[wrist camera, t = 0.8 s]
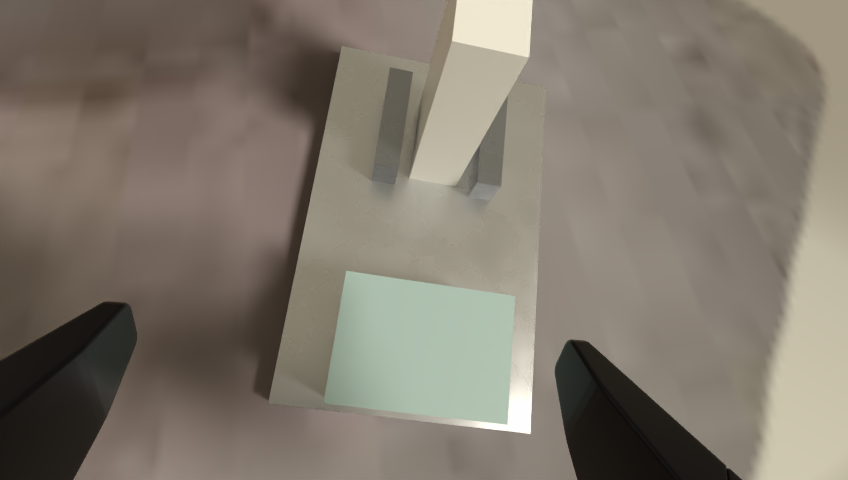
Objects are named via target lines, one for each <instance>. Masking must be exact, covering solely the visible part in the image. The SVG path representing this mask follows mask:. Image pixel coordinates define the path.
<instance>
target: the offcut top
mask: <svg viewBox="0 0 848 480" xmlns="http://www.w3.org/2000/svg"><path fill="white" fill-rule="evenodd" d="M514 307H515V296H511V295H505V294H498V293H491V292H485V291H478V290H471V289H465V288H458V287H451V286H445V285H438V284H431V283H425V282H418V281H411V280H405V279H398V278H391V277H385V276H378V275H371V274H365V273H358V272H351V271H346V275H345V280H344V286H343V292H342V298H341V304H340V309H339V315H338V321H337V327H336V333H335V338H334V344H333V350H332V356H331V361H330V367H329V373H328V379H327V385H326V390H325V396H324V402H323V403H325V404H333V405H342V406H351V407H359V408H368V409H376V410H385V411H394V412H402V413H411V414H419V415H428V416H437V417H445V418H454V419H462V420H471V421H480V422H488V423H497V424H505V425H508V408H509V391H510V375H511V358H512V341H513V324H514Z"/></svg>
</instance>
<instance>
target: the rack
mask: <svg viewBox="0 0 848 480" xmlns="http://www.w3.org/2000/svg"><path fill="white" fill-rule="evenodd" d="M429 67H430V64H427V63H423V62H418V61H413V60H408V59H403V58H398V57H393V56H389V55H384V54H379V53H374V52H369V51H364V50H359V49H355V48H350V47H345V46H342V48H341V53H340V58H339V63H338V68H337V72H336V77H335V82H334V87H333V92H332V97H331V102H330V106H329V111H328V116H327V121H326V126H325V131H324V135H323V140H322V145H321V150H320V155H319V160H318V164H317V169H316V174H315V179H314V184H313V189H312V193H311V198H310V203H309V208H308V213H307V218H306V223H305V227H304V232H303V237H302V242H301V247H300V252H299V256H298V261H297V266H296V271H295V276H294V281H293V285H292V290H291V295H290V300H289V305H288V310H287V315H286V319H285V324H284V329H283V334H282V339H281V344H280V348H279V353H278V358H277V363H276V368H275V373H274V377H273V382H272V387H271V392H270V397H269V402H268V404H276V405H285V406H294V407H303V408H311V409H320V410H329V411H337V412H346V413H355V414H364V415H372V416H381V417H390V418H398V419H407V420H416V421H425V422H433V423H442V424H451V425H460V426H468V427H477V428H486V429H494V430H503V431H512V432H521V433H529V434H530V426H531V404H532V382H533V360H534V338H535V316H536V295H537V273H538V251H539V229H540V207H541V185H542V163H543V141H544V119H545V97H546V88H544V87H539V86H534V85H529V84H525V83H520V82H515V83H514V85H513V87H512V88H511V90H510V92H509V94H508V95H507V97H506V99H505V101H504V102H503V104H502V106H501V108H500V109H499V111H498V113H497V115H496V116H495V118H494V120H493V122H492V123H491V125H490V127H489V129H488V130H487V132H486V134H485V136H484V137H483V139H482V141H481V143H480V144H479V146H478V148H477V150H476V151H475V153H474V155H473V157H472V158H471V160H470V162H469V164H468V166H467V167H466V169H465V171H464V173H463V174H462V176H461V178H460V180H459V181H458V183H457V185H456V186H450V185H444V184H439V183H433V182H427V181H422V180H416V179H410V178H409V176H410V169H411V162H412V155H413V147H414V140H415V133H416V126H417V119H418V112H419V104H420V101H421V97H422V93H423V89H424V86H425V82H426V78H427V74H428V71H429ZM346 271H351V272H358V273H365V274H371V275H378V276H385V277H391V278H398V279H405V280H411V281H418V282H425V283H431V284H438V285H445V286H451V287H458V288H465V289H471V290H478V291H485V292H491V293H498V294H505V295H511V296H515V307H514V324H513V341H512V358H511V375H510V391H509V408H508V425H505V424H497V423H488V422H480V421H471V420H462V419H454V418H445V417H437V416H428V415H419V414H411V413H402V412H394V411H385V410H376V409H368V408H359V407H351V406H342V405H333V404H325V403H323V402H324V396H325V390H326V385H327V379H328V373H329V367H330V361H331V356H332V350H333V344H334V338H335V333H336V327H337V321H338V315H339V309H340V304H341V298H342V292H343V286H344V280H345V275H346Z"/></svg>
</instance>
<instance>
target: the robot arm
mask: <svg viewBox="0 0 848 480" xmlns="http://www.w3.org/2000/svg"><path fill="white" fill-rule="evenodd" d="M136 341H137V331H136V327H135V323H134V318H133V314H132V309H131V307H130V305H129V304H127V303H121V302H109V301H108V302H103V303H101V304H99V305H97V306H95V307H94V308H92V309H90V310H88V311H87V312H85V313H83V314H81V315H80V316H78V317H76V318H74V319H73V320H71V321H69V322H67V323H66V324H64V325H62V326H60V327H59V328H57V329H55V330H53V331H52V332H50V333H48V334H46V335H45V336H43V337H41V338H39V339H38V340H36V341H34V342H32V343H30V344H29V345H27V346H25V347H23V348H22V349H20V350H18V351H16V352H15V353H13V354H11V355H9V356H8V357H6V358H4V359H2V360H1V361H0V480H73V479H74V477H75V476H76V474H77V472H78V470H79V468H80V466H81V464H82V463H83V461H84V459H85V457H86V455H87V453H88V451H89V449H90V448H91V446H92V444H93V442H94V440H95V438H96V436H97V435H98V433H99V431H100V429H101V427H102V425H103V423H104V421H105V419H106V417H107V415H108V412H109V410H110V408H111V405H112V403H113V400H114V398H115V395H116V393H117V390H118V388H119V385H120V383H121V380H122V378H123V375H124V373H125V370H126V368H127V365H128V363H129V360H130V358H131V355H132V353H133V350H134V348H135V345H136ZM555 378H556V384H557V390H558V396H559V402H560V407H561V413H562V419H563V425H564V430H565V435H566V440H567V444H568V448H569V452H570V455H571V459H572V462H573V466H574V469H575V473H576V476H577V480H742V479H741V478H740V477H738V476H737V475H736V474H735V473H734V472H733V471H732V470H731V469H727V468H726V465H725V464H724V463H723V462H722V461H720V460H719V459H718V458H717V457H716V456H715V455H714V454H713V453H712V452H710V451H709V450H708V449H707V448H706V447H705V446H704V445H703V444H701V443H700V442H699V441H698V440H697V439H696V438H695V437H694V436H693V435H691V434H690V433H689V432H688V431H687V430H686V429H685V428H684V427H683V426H681V425H680V424H679V423H678V422H677V421H676V420H675V419H674V418H673V417H671V416H670V415H669V414H668V413H667V412H666V411H665V410H664V409H662V408H661V407H660V406H659V405H658V404H657V403H656V402H655V401H654V400H652V399H651V398H650V397H649V396H648V395H647V394H646V393H645V392H644V391H642V390H641V389H640V388H639V387H638V386H637V385H636V384H635V383H634V382H632V381H631V380H630V379H629V378H628V377H627V376H626V375H625V374H623V373H622V372H621V371H620V370H619V369H618V368H617V367H616V366H615V365H613V364H612V363H611V362H610V361H609V360H608V359H607V358H606V357H605V356H603V355H602V354H601V353H600V352H599V351H598V350H597V349H596V348H594V347H593V346H592V345H591V344H590V343H589V342H587V341H583V340H569V341H567V342H566V344H565V346H564V348H563V350H562V352H561V354H560V356H559V359H558V361H557V363H556V366H555Z"/></svg>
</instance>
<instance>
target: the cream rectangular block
mask: <svg viewBox="0 0 848 480" xmlns="http://www.w3.org/2000/svg"><path fill="white" fill-rule="evenodd" d="M531 17H532V0H447V3H446V6H445V10H444V14H443V18H442V22H441V25H440V29H439V33H438V37H437V40H436V44H435V48H434V52H433V55H432V59H431V63H430V67H429V71H428V74H427V78H426V82H425V86H424V89H423V93H422V97H421V101H420V104H419V112H418V119H417V126H416V133H415V140H414V147H413V155H412V162H411V169H410V176H409V178H410V179H416V180H422V181H427V182H433V183H439V184H444V185H450V186H456V185H457V183H458V181H459V180H460V178H461V176H462V174H463V173H464V171H465V169H466V167H467V166H468V164H469V162H470V160H471V158H472V157H473V155H474V153H475V151H476V150H477V148H478V146H479V144H480V143H481V141H482V139H483V137H484V136H485V134H486V132H487V130H488V129H489V127H490V125H491V123H492V122H493V120H494V118H495V116H496V115H497V113H498V111H499V109H500V108H501V106H502V104H503V102H504V101H505V99H506V97H507V95H508V94H509V92H510V90H511V88H512V87H513V85H514V83H515V81H516V80H517V78H518V76H519V74H520V72H521V71H522V69H523V67H524V65H525V64H526V62H527V60H528V58H529V50H530V33H531Z"/></svg>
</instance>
